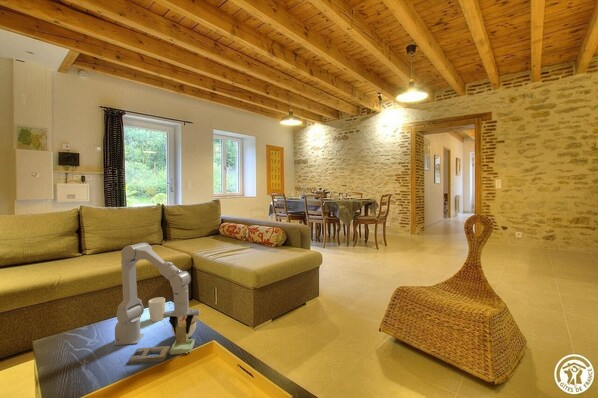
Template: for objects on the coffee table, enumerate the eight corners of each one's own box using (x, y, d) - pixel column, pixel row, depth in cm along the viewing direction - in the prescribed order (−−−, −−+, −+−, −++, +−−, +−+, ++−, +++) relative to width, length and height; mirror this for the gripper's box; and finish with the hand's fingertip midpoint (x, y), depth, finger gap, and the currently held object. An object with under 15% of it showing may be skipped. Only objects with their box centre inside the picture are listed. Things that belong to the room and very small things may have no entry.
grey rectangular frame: (128, 363, 113) (128, 359, 113) (137, 352, 121) (137, 348, 121) (163, 360, 115) (163, 356, 115) (170, 349, 123) (170, 345, 123)
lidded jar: (180, 344, 127) (179, 323, 126) (167, 337, 133) (166, 317, 133) (201, 334, 135) (201, 314, 135) (188, 328, 142) (187, 309, 141)
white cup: (154, 323, 147) (153, 304, 147) (145, 320, 151) (145, 301, 151) (168, 317, 154) (168, 299, 153) (160, 314, 158) (159, 296, 158)
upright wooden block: (176, 344, 121) (175, 327, 121) (178, 339, 125) (178, 323, 125) (186, 343, 121) (185, 326, 121) (188, 338, 125) (188, 322, 125)
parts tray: (169, 354, 119) (169, 350, 119) (175, 344, 127) (175, 340, 127) (190, 353, 120) (190, 348, 120) (194, 343, 128) (194, 338, 128)
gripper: (159, 306, 118) (160, 339, 118) (197, 303, 120) (197, 336, 120) (165, 299, 125) (166, 330, 125) (200, 297, 127) (201, 328, 127)
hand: (182, 333), depth 123 cm, fingers closed on upright wooden block, 4 cm apart
